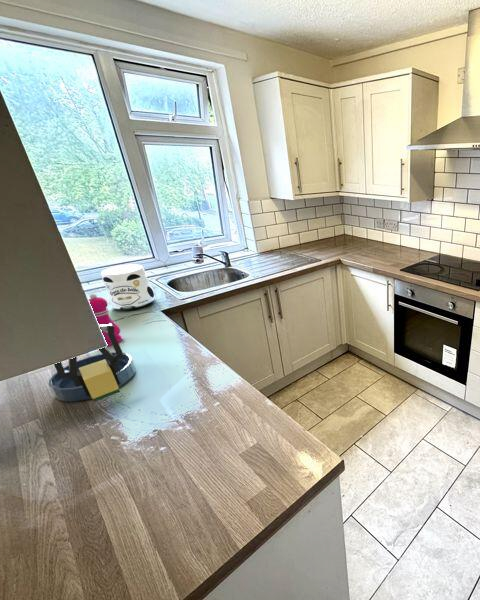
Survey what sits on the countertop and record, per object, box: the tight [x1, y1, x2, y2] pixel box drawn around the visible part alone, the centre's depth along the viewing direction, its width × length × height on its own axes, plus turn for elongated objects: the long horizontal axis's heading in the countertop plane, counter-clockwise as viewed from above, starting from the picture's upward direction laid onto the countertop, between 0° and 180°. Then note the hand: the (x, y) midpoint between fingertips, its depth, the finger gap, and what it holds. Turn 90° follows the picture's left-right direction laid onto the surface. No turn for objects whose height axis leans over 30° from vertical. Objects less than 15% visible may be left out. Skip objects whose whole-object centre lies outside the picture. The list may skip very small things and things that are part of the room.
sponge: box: [79, 359, 121, 403], centre depth 88 cm, size 8×6×7 cm
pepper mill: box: [88, 293, 123, 347], centre depth 121 cm, size 7×7×20 cm
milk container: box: [100, 264, 156, 311], centre depth 153 cm, size 17×17×18 cm
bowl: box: [48, 351, 136, 402], centre depth 102 cm, size 19×19×5 cm
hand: (103, 388), depth 89 cm, fingers closed on sponge, 5 cm apart
